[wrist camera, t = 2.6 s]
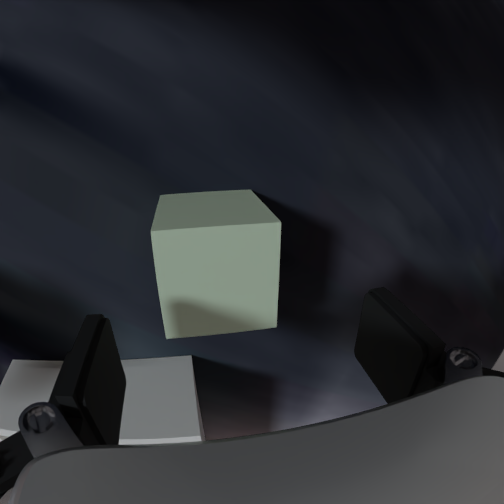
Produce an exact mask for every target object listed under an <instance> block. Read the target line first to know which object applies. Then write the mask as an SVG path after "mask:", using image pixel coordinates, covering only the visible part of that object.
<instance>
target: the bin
mask: <svg viewBox="0 0 504 504" xmlns="http://www.w3.org/2000/svg"><path fill="white" fill-rule="evenodd" d="M121 363H122V366H123V370H124V373H125V376H126V390H125V397H124V404H123V411H122V419H121V427H120V435H119V445H133V444H163V443H181V442H195V441H206V439H205V434H204V428H203V423H202V418H201V412H200V406H199V400H198V395H197V389H196V382H195V376H194V370H193V363H192V356H191V355H188V356H176V357H163V358H148V359H129V360H121ZM62 364H63V361H39V360H12V362H11V364H10V366H9V368H8V371H7V373H6V375H5V377H4V379H3V381H2V383H1V385H0V442H1V441H3V440H4V439H6V438H8V437H9V436H11V435H13V434H15V433H16V432H18V431H20V429H19V425H18V420H19V416H20V414H21V412H22V411H23V410H24V409H25V408H26V407H28V406H29V405H31V404H34V403H36V402H48V401H49V398H50V395H51V393H52V390H53V387H54V385H55V382H56V379H57V377H58V374H59V372H60V369H61V366H62Z"/></svg>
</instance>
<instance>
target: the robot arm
mask: <svg viewBox="0 0 504 504" xmlns="http://www.w3.org/2000/svg"><path fill="white" fill-rule="evenodd" d="M445 345H446V344H445V343H444V342H443V341H442V340H441V339H440V338H439V337H438V336H437V335H436V334H435V333H434V332H433V331H432V330H430V329H429V328H428V327H427V326H426V325H425V324H424V323H423V322H422V321H421V320H420V319H419V318H418V317H417V316H416V315H414V314H413V313H412V312H411V311H410V310H409V309H408V308H407V307H406V306H405V305H404V304H402V303H401V302H400V301H399V300H398V299H397V298H396V297H395V296H394V295H392V294H391V293H390V292H389V291H388V290H387V289H386V288H384V287H381V288H375V289H370V290H369V292H368V293H367V294H366V295H365V297H364V302H363V308H362V313H361V319H360V324H359V329H358V334H357V339H356V344H355V349H354V353H355V357H356V359H357V360H358V361H359V363H360V364H361V366H362V367H363V369H364V370H365V371H366V373H367V374H368V376H369V377H370V379H371V380H372V382H373V383H374V384H375V386H376V387H377V389H378V390H379V392H380V393H381V395H382V396H383V398H384V399H385V400H386V402H387V403H388V404H386V405H383V406H380V407H376V408H373V409H370V410H366V411H363V412H359V413H355V414H352V415H348V416H344V417H340V418H336V419H332V420H328V421H324V422H319V423H315V424H310V425H306V426H301V427H296V428H291V429H286V430H280V431H274V432H268V433H262V434H256V435H249V436H242V437H234V438H226V439H217V440H207V441H195V442H181V443H163V444H133V445H119V435H120V427H121V419H122V411H123V404H124V397H125V390H126V376H125V373H124V370H123V366H122V363H121V360H120V356H119V353H118V349H117V346H116V342H115V339H114V335H113V331H112V328H111V324H110V320H109V319H108V318H104V316H103V315H102V314H95V315H87V316H86V318H85V320H84V322H83V325H82V327H81V329H80V332H79V334H78V336H77V339H76V341H75V343H74V346H73V348H72V351H70V352H68V353H67V355H66V357H65V359H64V361H63V364H62V366H61V369H60V372H59V374H58V377H57V379H56V382H55V385H54V387H53V390H52V393H51V395H50V398H49V401H48V402H36V403H34V404H31V405H29V406H28V407H26V408H25V409H24V410H23V411H22V412H21V414H20V416H19V420H18V425H19V429H20V431H18V432H16V433H15V434H13V435H11V436H9V437H8V438H6V439H4V440H3V441H1V442H0V504H504V372H500V371H495V370H491V369H487V368H483V367H482V364H481V360H480V358H479V356H478V355H477V354H476V353H475V352H474V351H472V350H470V349H467V348H464V347H453V348H451V349H449V350H448V351H447V353H446V352H445V351H444V348H445Z"/></svg>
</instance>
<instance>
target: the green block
mask: <svg viewBox="0 0 504 504" xmlns="http://www.w3.org/2000/svg"><path fill="white" fill-rule="evenodd" d="M151 238H152V247H153V255H154V263H155V270H156V278H157V285H158V292H159V298H160V305H161V311H162V317H163V323H164V328H165V334H166V339H169V338H182V337H193V336H204V335H214V334H224V333H233V332H242V331H251V330H259V329H267V328H274V327H277V309H278V289H279V267H280V243H281V221H280V220H279V219H278V218H277V217H276V216H275V215H274V214H273V213H272V212H271V211H270V210H269V209H268V207H267V206H266V205H265V204H264V203H263V202H262V201H261V200H260V199H259V198H258V197H257V196H256V195H255V194H254V193H253V192H252V191H251V190H232V191H213V192H197V193H182V194H169V195H160V198H159V202H158V206H157V209H156V213H155V217H154V221H153V224H152V228H151Z"/></svg>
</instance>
